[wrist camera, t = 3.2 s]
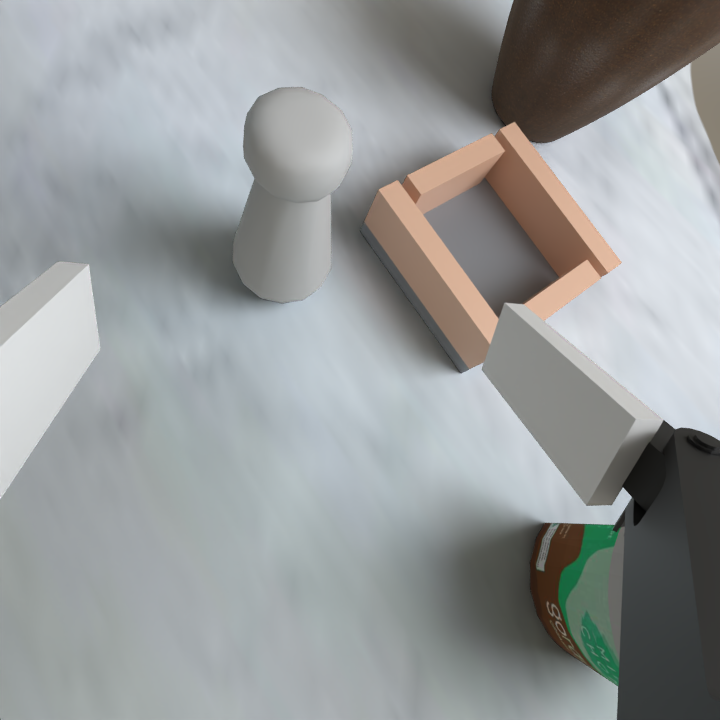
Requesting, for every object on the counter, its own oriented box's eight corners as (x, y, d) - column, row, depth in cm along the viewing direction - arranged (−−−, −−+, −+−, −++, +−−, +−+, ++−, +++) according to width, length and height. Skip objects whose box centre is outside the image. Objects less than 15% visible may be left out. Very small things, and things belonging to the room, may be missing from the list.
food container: (472, 584, 27) (594, 641, 17) (528, 505, 29) (664, 519, 19) (617, 735, 26) (821, 876, 17) (663, 644, 29) (867, 726, 19)
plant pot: (607, 72, 41) (812, -159, 26) (606, 206, 37) (850, 21, 22) (460, 12, 39) (595, -283, 24) (440, 149, 34) (588, -105, 19)
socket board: (359, 230, 31) (378, 189, 26) (480, 167, 35) (514, 121, 30) (461, 373, 30) (497, 355, 26) (573, 290, 34) (621, 262, 30)
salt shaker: (314, 228, 30) (358, 57, 18) (334, 307, 29) (396, 182, 17) (225, 238, 28) (207, 56, 16) (242, 321, 27) (238, 195, 15)
